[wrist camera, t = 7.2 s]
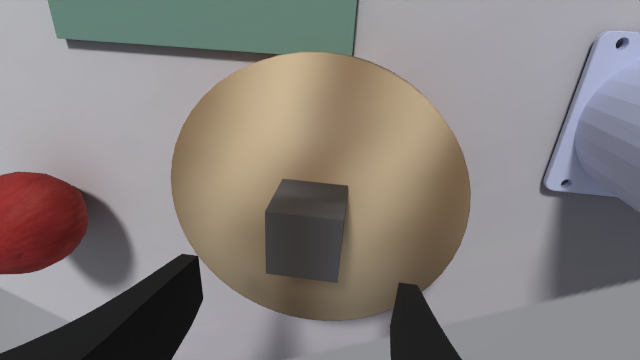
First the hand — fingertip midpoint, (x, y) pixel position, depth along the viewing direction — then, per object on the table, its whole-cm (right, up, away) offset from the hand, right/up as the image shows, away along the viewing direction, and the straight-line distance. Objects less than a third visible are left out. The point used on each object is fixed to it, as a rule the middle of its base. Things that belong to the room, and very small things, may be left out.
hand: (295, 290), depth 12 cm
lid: (+1, +3, +5) cm, 6 cm away
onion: (-16, +3, +12) cm, 20 cm away
